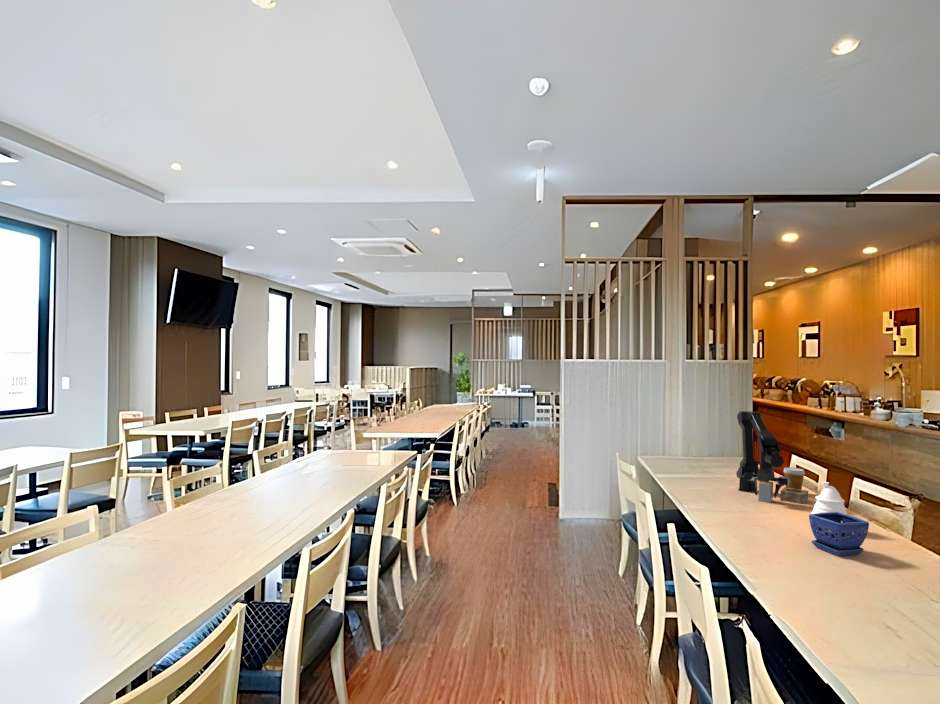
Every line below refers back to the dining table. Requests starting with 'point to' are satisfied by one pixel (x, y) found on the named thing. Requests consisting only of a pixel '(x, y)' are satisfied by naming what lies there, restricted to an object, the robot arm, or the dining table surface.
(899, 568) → the dining table surface
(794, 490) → the socket block
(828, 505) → the honey pot
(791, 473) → the disposable coffee cup
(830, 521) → the flower pot
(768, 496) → the steel peg
